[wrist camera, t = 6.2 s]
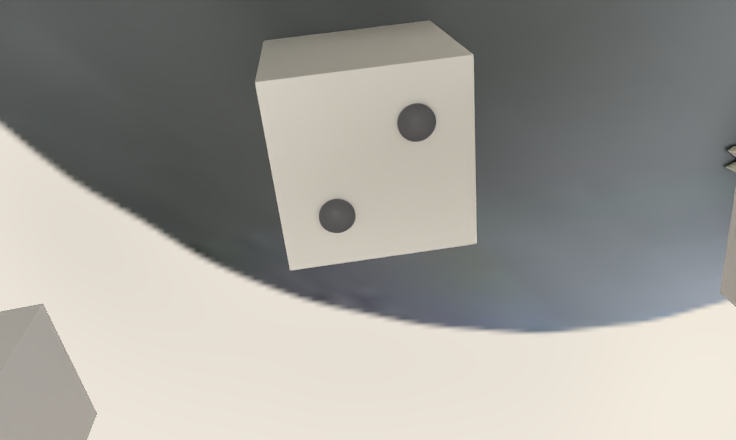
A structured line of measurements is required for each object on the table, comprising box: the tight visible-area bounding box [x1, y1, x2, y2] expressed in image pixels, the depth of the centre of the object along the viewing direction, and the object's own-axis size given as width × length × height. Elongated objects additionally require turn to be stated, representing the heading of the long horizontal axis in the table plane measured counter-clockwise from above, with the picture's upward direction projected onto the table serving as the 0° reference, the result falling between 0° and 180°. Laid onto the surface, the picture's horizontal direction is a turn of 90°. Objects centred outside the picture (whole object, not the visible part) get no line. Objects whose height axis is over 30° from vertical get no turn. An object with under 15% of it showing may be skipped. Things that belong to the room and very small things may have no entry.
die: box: [255, 20, 477, 271], centre depth 20 cm, size 6×6×6 cm
